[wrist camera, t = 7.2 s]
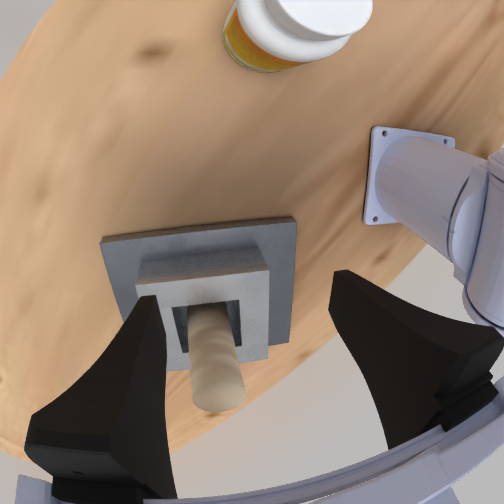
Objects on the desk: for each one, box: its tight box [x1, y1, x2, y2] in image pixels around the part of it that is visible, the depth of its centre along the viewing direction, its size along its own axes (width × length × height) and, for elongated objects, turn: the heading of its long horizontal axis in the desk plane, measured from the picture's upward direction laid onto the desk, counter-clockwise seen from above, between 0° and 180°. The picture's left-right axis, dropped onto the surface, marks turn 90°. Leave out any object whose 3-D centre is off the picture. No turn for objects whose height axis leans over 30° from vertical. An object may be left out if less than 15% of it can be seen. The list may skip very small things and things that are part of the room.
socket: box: [100, 217, 297, 372], centre depth 22 cm, size 14×12×4 cm
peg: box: [187, 301, 246, 412], centre depth 19 cm, size 3×3×9 cm
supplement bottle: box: [223, 0, 372, 72], centre depth 11 cm, size 5×5×10 cm
